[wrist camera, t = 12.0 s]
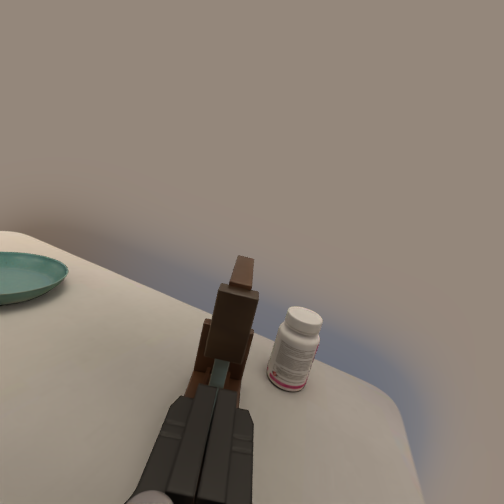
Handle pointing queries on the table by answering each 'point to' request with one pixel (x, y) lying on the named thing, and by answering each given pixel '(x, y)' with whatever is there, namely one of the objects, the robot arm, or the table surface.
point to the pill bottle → (294, 349)
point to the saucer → (28, 276)
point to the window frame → (206, 365)
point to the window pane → (231, 321)
